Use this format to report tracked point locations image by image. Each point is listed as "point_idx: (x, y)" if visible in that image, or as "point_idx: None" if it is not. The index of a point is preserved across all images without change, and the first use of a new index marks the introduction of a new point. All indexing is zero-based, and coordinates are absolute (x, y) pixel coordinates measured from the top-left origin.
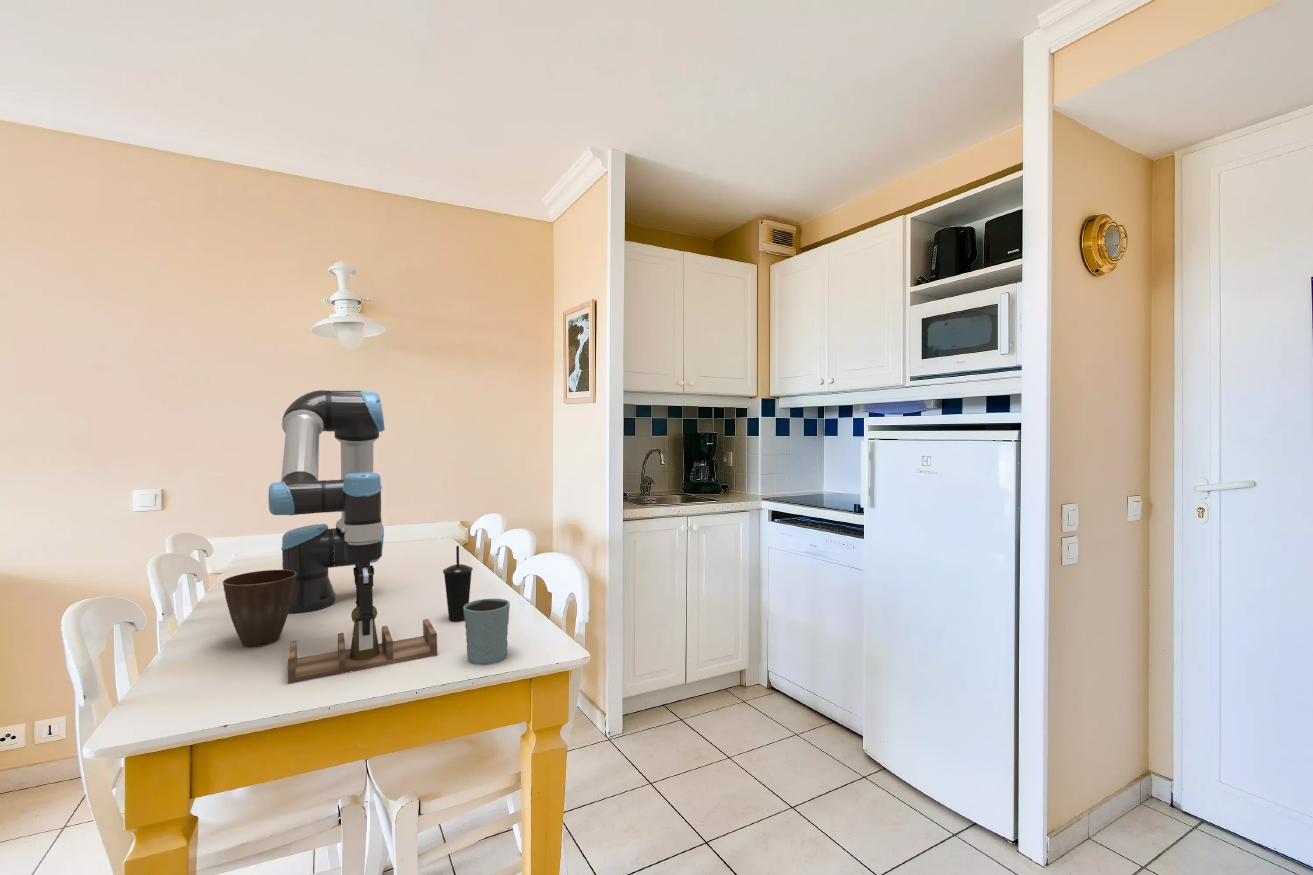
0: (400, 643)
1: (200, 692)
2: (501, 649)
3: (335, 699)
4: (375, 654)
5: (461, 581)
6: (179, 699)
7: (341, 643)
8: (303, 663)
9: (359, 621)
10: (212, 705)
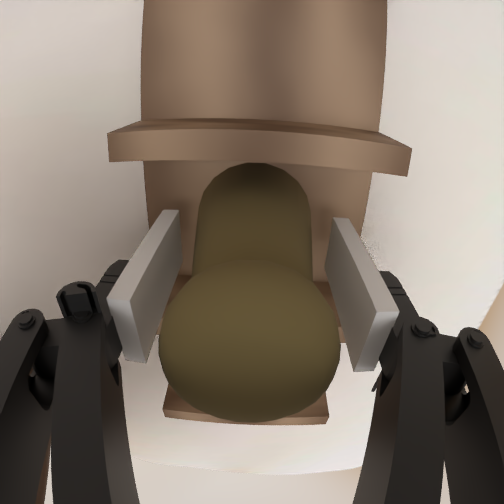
0: (190, 68)
1: (255, 445)
2: None
3: (478, 299)
4: (298, 186)
5: None
6: (267, 454)
7: None
8: None
9: (374, 365)
10: (327, 434)
